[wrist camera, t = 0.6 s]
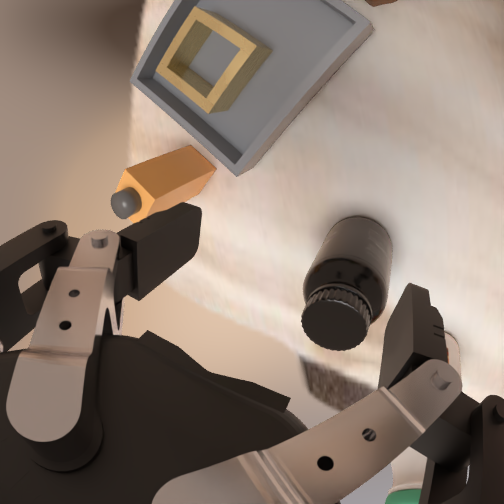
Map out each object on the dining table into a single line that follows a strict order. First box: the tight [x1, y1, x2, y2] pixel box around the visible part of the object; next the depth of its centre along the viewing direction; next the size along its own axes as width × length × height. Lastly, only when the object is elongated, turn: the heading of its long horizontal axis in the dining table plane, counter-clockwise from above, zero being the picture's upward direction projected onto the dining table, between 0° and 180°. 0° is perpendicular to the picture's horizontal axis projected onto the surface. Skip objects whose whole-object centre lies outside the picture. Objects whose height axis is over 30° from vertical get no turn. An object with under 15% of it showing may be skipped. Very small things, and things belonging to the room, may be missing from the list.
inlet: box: [155, 6, 273, 114], centre depth 24 cm, size 7×7×4 cm
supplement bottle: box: [301, 217, 392, 351], centre depth 25 cm, size 7×7×12 cm
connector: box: [111, 145, 216, 223], centre depth 29 cm, size 4×4×12 cm
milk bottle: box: [385, 333, 462, 504], centre depth 24 cm, size 8×8×20 cm
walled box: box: [130, 0, 374, 177], centre depth 24 cm, size 18×16×4 cm
